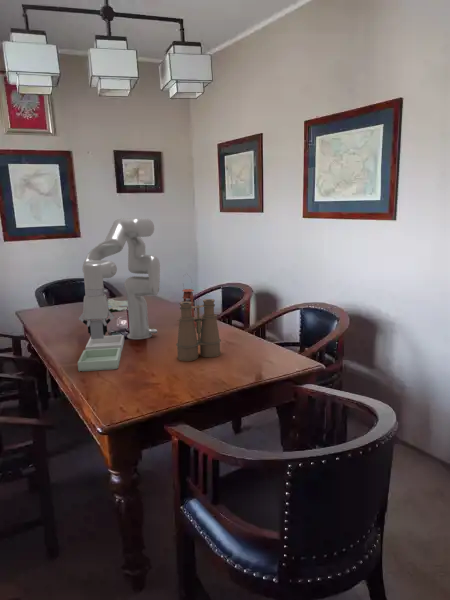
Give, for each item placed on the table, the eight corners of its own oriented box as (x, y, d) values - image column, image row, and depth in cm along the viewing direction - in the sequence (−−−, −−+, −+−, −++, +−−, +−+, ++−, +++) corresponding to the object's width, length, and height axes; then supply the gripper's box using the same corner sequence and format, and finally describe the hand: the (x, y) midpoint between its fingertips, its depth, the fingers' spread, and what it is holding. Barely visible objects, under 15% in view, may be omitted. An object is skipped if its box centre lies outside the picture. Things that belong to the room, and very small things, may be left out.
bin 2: (121, 356, 200) (120, 347, 199) (117, 368, 185) (117, 359, 184) (84, 358, 198) (83, 350, 197) (78, 371, 182) (77, 362, 182)
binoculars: (180, 362, 191) (178, 306, 185) (173, 355, 200) (171, 301, 194) (224, 355, 199) (223, 301, 193) (216, 348, 208) (214, 296, 202)
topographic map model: (139, 300, 317) (139, 293, 316) (149, 309, 290) (149, 301, 289) (88, 305, 303) (87, 298, 302) (94, 315, 277) (93, 307, 276)
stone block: (104, 335, 191) (103, 319, 190) (103, 338, 186) (102, 322, 185) (93, 335, 190) (91, 320, 189) (91, 339, 186) (90, 323, 184)
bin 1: (124, 342, 219) (123, 334, 219) (121, 353, 204) (121, 344, 203) (91, 344, 217) (90, 336, 216) (86, 355, 202) (85, 347, 201)
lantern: (177, 327, 244) (175, 273, 238) (185, 322, 254) (184, 271, 247) (193, 328, 241) (191, 274, 234) (201, 324, 250) (199, 271, 244)
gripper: (116, 290, 189) (119, 330, 193) (75, 291, 187) (78, 333, 191) (114, 293, 182) (117, 335, 186) (71, 295, 180) (75, 338, 183)
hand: (98, 334), depth 188 cm, fingers closed on stone block, 5 cm apart
